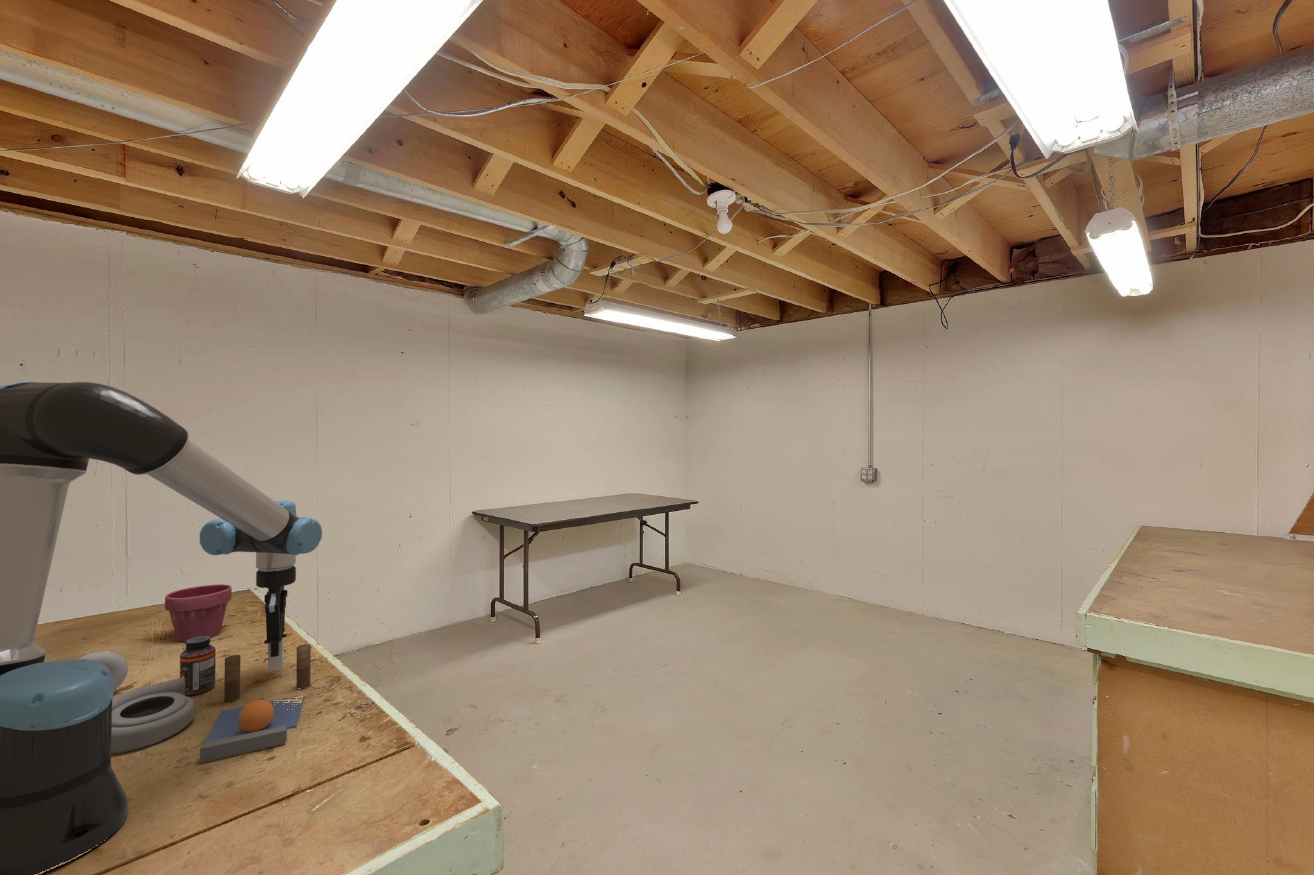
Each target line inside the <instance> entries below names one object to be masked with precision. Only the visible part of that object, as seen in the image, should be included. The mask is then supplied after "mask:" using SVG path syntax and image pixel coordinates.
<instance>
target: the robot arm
mask: <svg viewBox="0 0 1314 875" xmlns="http://www.w3.org/2000/svg"><path fill="white" fill-rule="evenodd" d="M90 459H91V460H96V461H100V462H104V463H109V464H111V465H112V464H113V465H115V466H117V467H120V468H121V469H123V470H125V471H127V472H128V473H130V474H132V475H137V476H139V475H140V476H142V475H143V476H144V475H147V476H150V477H151V478H152V479H155V480H156V481H157V482H160V483H161V484H163V485H165V486H166V487H168V488H170V489H171V490H173V491H175V492H176V493H178V494H180V495H181V496H183V497H184V498H187V499H188V500H189V501H192V502H193V503H194V504H197V505H198V506H200V507H201V508H203V509H205V510H206V511H207V512H210V513H212V514H213V515H215V516H216V517H218V518H217V519H212V520H208V521H207V522H206V523H205V524H204V525H203V526H202V527H201V530H200V531H199V544H200V547H201V549H202V550H204V552H206V553H207V554H208V555H211V556H220V555H230V554H232V553H237V552H238V553H239V552H240V553H241V552H242V553H255V568H256V569H257V571H256V572H255V573H256V574H255V575H256V576H255V585H256V587H257V588H260V589H268V590H267V591H266V594H265V595H264V603H265V605H264V612H265V624H266V625H265V629H266V632H265V633H266V639H265V640H264V642H263V644H264V645H266V644H267V672H270V671H275V670H276V671H277V670H281V669H283V667H284V638H287V637H288V633H285V631H286V628H285V626H286V624H285V623H286V622H285V621H286V620H285V619H286V607H287V597H288V589H285V586H289V585H292V584H293V583H295V582H296V579H297V567H296V566H295V564H296V562H297V561H296V560H297V559H296V557H297V556H299V555H300V554H301V555H305V554H309V553H311V552H313V551H315V550H316V549H317V547H318V546H319V545H320V542H321V541H322V538H323V528H322V526H321V524H320V522H319V521H318V520H317V519H315V518H311V517H306V516H301V517H298V515H297V506H296V503H295V502H293V501H290V500H273V499H272V498H271V497H269V496H268V495H266V494H265V493H264V492H262V491H261V490H260V489H258V487H255V486H254V485H253V484H251V483H250V482H248V481H246V479H244V478H243V477H241V476H240V475H238V474H237V473H235V471H233V470H231V469H230V468H229V467H227V466H225V465H224V464H223V463H222V462H220V461H219V460H218V459H216V458H215V457H213V456H212V455H210V454H209V453H208V452H206V451H205V450H204V449H203V448H200V447H199V446H197V444H196V443H194V442H193V441H191V440H190V434H189V432H188V430H187V429H185V427H183V426H181V425H180V424H179V423H178V422H176V421H175V420H174V419H173V418H171V417H169V416H168V415H166V414H164V413H163V412H162V411H160V410H159V409H157V408H156V407H154V406H152V405H150V404H149V403H147V402H145V401H144V400H142V399H140V398H138V397H136V396H134V395H132V394H130V393H129V392H126V391H123V390H121V389H118V388H117V387H113V386H110V385H106V384H103V383H97V382H96V383H95V382H91V381H89V382H88V381H74V382H72V381H71V382H36V381H23V382H22V381H21V382H16V383H10V384H4V385H0V875H34V874H38V873H40V872H42V871H45V870H47V869H50V868H51V867H54V866H56V865H59V864H60V863H62V862H66V861H68V860H70V859H72V858H74V857H76V856H78V855H79V854H82V853H84V852H86V851H88V850H89V849H92V848H93V847H95V846H96V845H99V844H100V843H101V842H103V841H104V840H106V838H109V837H110V836H111V835H112V836H113V835H115V834H116V833H117V832H118V831H119V830H120V829H121V828H122V826H123V825H124V823H125V822H126V821H127V818H128V813H129V812H128V811H129V809H128V808H129V807H128V806H129V801H128V796H127V794H126V792H125V790H124V788H123V787H122V785H121V783H120V781H119V778H118V777H117V775H116V773H115V771H114V770H113V767H112V754H111V731H112V699H113V698H114V694H115V690H114V689H113V686H112V679H111V673H110V670H109V669H108V668H107V667H106V666H105V665H104V664H102V663H100V662H97V661H93V660H86V659H79V658H69V659H66V660H59V659H56V660H48V661H45V658H46V654H47V651H46V649H44V648H43V647H42V646H40V645H39V644H37V642H35V637H36V633H37V632H36V631H37V627H38V623H39V618H40V614H41V610H42V606H43V602H44V601H43V600H44V596H45V592H46V588H47V583H48V578H49V574H50V570H51V566H52V560H53V557H54V553H55V547H56V544H57V540H58V536H59V530H60V527H61V522H62V517H63V513H64V509H65V504H66V500H67V496H68V491H69V487H70V484H71V483H72V482H73V481H75V480H77V479H79V478H80V477H82V476H83V475H85V474H87V470H88V465H89V463H90V462H89V461H90ZM116 831H117V832H116ZM114 833H115V834H114ZM112 836H111V837H112ZM111 837H110V838H111ZM110 838H109V839H110ZM106 841H107V840H106ZM103 843H104V842H103ZM100 845H101V844H100ZM100 845H99V846H100Z"/></svg>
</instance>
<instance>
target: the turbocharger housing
mask: <svg viewBox="0 0 1314 875" xmlns="http://www.w3.org/2000/svg"><path fill="white" fill-rule="evenodd" d="M194 700H195V699H193V698H191V697H189V696H186V695H185V677H184V676H182V678H180V677H179V678H175V679H174V678H173V679H169V680H166V681H161V682H158V683H157V682H156V683H153V684H149V685H145V686H142V687H138V688H135V689H133V690H130V691H128V692H124V693H122V694H121V695H120V694H119V695H118V696H116V697H113V698H112V731H111V755H118V754H123V753H129V752H133V751H136V750H141V749H145V748H147V747H149V746H153V745H156V744H158V743H159V742H163V741H164V740H167V739H169V738H170V737H172V736H174V735H176V734H177V733H179V732H180V731H181V730H183V729H185V728H186V727H187V726H188V725H189V724H190V722H192V721H193V718H194V717H195V713H196V712H195V710H196V709H195V708H196V707H195V706H196V705H195V701H194Z"/></svg>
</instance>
